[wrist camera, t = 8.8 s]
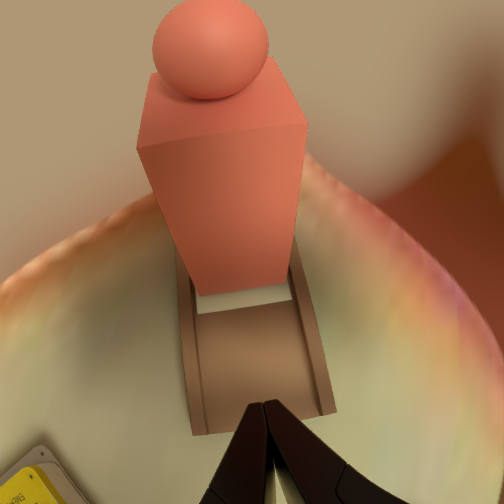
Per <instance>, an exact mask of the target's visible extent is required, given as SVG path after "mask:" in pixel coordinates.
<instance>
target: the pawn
mask: <svg viewBox="0 0 504 504" xmlns="http://www.w3.org/2000/svg"><path fill="white" fill-rule="evenodd" d="M268 46H269V43H268V35H267V31H266V28H265V26H264V24H263V22H262V20H261V19H260V17H259V16H258V15H257V14H256V12H255V11H253V10H252V9H251V8H250V7H249V6H247V5H246V4H244V3H242V2H241V1H238V0H187V1H185V2H183V3H181V4H180V5H178V6H176V7H175V8H174V9H172V10H171V11H170V12H169V13H168V14H167V15H166V16H165V17H164V19H163V20H162V21H161V23H160V25H159V26H158V28H157V30H156V33H155V36H154V40H153V48H152V49H153V50H152V51H153V60H154V63H155V66H156V69H157V71H158V72H157V73H152V74H151V76H150V80H149V84H148V89H147V94H146V98H145V103H144V108H143V113H142V118H141V124H140V129H139V135H138V141H137V151H138V154H139V156H140V159H141V162H142V164H143V167H144V169H145V172H146V174H147V177H148V179H149V182H150V184H151V186H152V189H153V192H154V194H155V197H156V199H157V202H158V204H159V206H160V209H161V211H162V214H163V216H164V218H165V221H166V223H167V225H168V228H169V230H170V232H171V235H172V237H173V239H174V242H175V244H176V246H177V248H178V251H179V253H180V255H181V257H182V260H183V262H184V264H185V266H186V268H187V271H188V273H189V275H190V277H191V279H192V281H193V284H194V286H195V288H196V290H197V292H198V294H199V296H206V295H213V294H220V293H227V292H233V291H240V290H246V289H252V288H259V287H265V286H271V285H277V284H283V283H286V279H287V272H288V266H289V260H290V253H291V247H292V240H293V234H294V227H295V220H296V213H297V206H298V199H299V191H300V184H301V176H302V169H303V161H304V153H305V145H306V136H307V127H308V123H307V121H306V119H305V117H304V115H303V113H302V111H301V109H300V107H299V105H298V103H297V101H296V99H295V97H294V95H293V93H292V91H291V89H290V88H289V86H288V84H287V82H286V80H285V78H284V77H283V75H282V73H281V71H280V69H279V68H278V66H277V64H276V62H275V61H274V59H273V57H267V55H268Z"/></svg>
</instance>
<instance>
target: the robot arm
mask: <svg viewBox="0 0 504 504" xmlns="http://www.w3.org/2000/svg"><path fill="white" fill-rule="evenodd" d="M274 465H275V468H274ZM275 470H276V473H277V476H278V479H279V481H280V484H281V487H282V490H283V493H284V495H285V498H286V501H287V503H288V504H409V503H407V502H405V501H403V500H401V499H400V498H398V497H396V496H394V495H392V494H391V493H389V492H387V491H385V490H384V489H382V488H380V487H379V486H377V485H376V484H374V483H373V482H371V481H370V480H368V479H367V478H366V477H364V476H363V475H362V474H360V473H359V472H358V471H357V470H355V469H354V468H353V467H352V466H351V465H349V464H347V462H346V461H345V460H343V459H342V458H341V457H340V456H339V455H338V454H337V453H335V452H334V451H333V450H332V449H331V448H330V447H329V446H327V445H326V444H325V443H324V442H323V441H322V440H321V439H320V438H319V437H317V436H316V435H315V434H314V433H313V432H312V431H311V430H310V429H309V428H308V427H307V426H305V425H304V424H303V423H302V422H301V421H300V420H299V419H298V418H297V417H296V416H295V415H294V414H293V413H292V412H291V411H290V410H289V409H288V408H286V407H285V406H284V405H283V404H282V403H281V402H280V401H279V400H278V399H273V400H267V401H264V403H263V402H254V403H249V404H248V405H247V407H246V409H245V412H244V414H243V416H242V418H241V420H240V422H239V425H238V427H237V429H236V431H235V433H234V435H233V437H232V439H231V442H230V444H229V446H228V448H227V450H226V452H225V454H224V456H223V458H222V460H221V462H220V464H219V466H218V468H217V470H216V472H215V474H214V476H213V478H212V480H211V482H210V484H209V488H207V490H206V492H205V494H204V496H203V498H202V499H201V501H200V503H199V504H276V483H275Z"/></svg>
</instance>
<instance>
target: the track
mask: <svg viewBox="0 0 504 504" xmlns="http://www.w3.org/2000/svg"><path fill="white" fill-rule="evenodd" d="M175 250H176V273H177V291H178V306H179V319H180V332H181V343H182V354H183V364H184V373H185V382H186V390H187V398H188V406H189V413H190V421H191V428H192V434H193V436H197V435H208V434H214V433H224V432H232V431H236V429H237V427H238V425H239V422H240V420H241V418H242V416H243V414H244V412H245V409H246V407H247V405H248V404H249V403H254V402H263V403H264V401H267V400H273V399H278V400H279V401H280V402H281V403H282V404H283V405H284V406H285V407H286V408H288V409H289V410H290V411H291V412H292V413H293V414H294V415H295V416H296V417H297V418H298V419H299V420H304V419H309V418H313V417H317V416H324V415H328V414H332V413H336V412H337V410H336V406H335V401H334V396H333V391H332V387H331V382H330V378H329V373H328V369H327V364H326V360H325V355H324V351H323V347H322V342H321V338H320V334H319V330H318V325H317V321H316V317H315V313H314V309H313V305H312V301H311V297H310V293H309V289H308V285H307V281H306V277H305V274H304V270H303V266H302V262H301V258H300V255H299V251H298V247H297V244H296V240H295V236H294V234H293V240H292V247H291V253H290V260H289V266H288V272H287V279H286V283H283V284H277V285H271V286H265V287H259V288H252V289H246V290H240V291H233V292H227V293H220V294H213V295H206V296H199V294H198V292H197V290H196V288H195V286H194V284H193V281H192V279H191V277H190V275H189V273H188V271H187V268H186V266H185V264H184V262H183V260H182V257H181V255H180V253H179V251H178V248H177V246H176V244H175Z"/></svg>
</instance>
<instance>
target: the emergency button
mask: <svg viewBox="0 0 504 504" xmlns="http://www.w3.org/2000/svg"><path fill="white" fill-rule="evenodd" d="M0 504H89V502H88V501H87V500H86V499H85V497H84V496H83V495H82V494H81V492H80V491H79V490H78V488H77V487H76V486H75V485H74V483H73V482H72V481H71V479H70V478H69V476H68V475H67V474H66V472H65V471H64V469H63V468H62V466H61V465H60V464H59V462H58V461H57V459H56V458H55V456H54V455H53V453H52V452H51V451H50V450H49V449H48V448H47V447H45V446H43V445H38V446H35V447H34V448H33V449H32V450H31V451H29V452H28V453H27V454H26V455H25V456H24V457H23V458H21V459H20V460H19V461H18V462H17V463H16V464H15V465H13V466H12V467H11V468H10V469H9V470H8V471H7V472H6V473H4V474H3V475H2V476H1V477H0Z"/></svg>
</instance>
